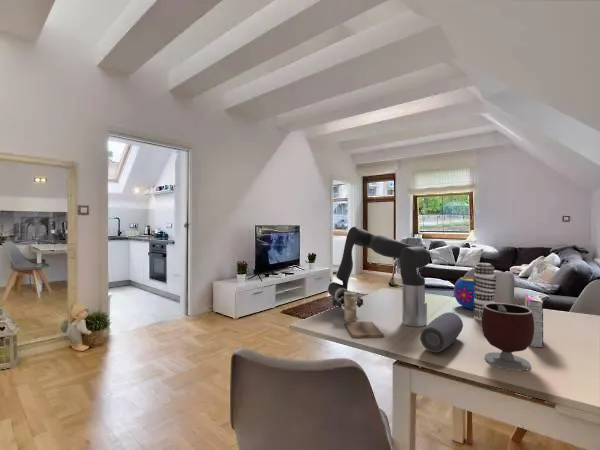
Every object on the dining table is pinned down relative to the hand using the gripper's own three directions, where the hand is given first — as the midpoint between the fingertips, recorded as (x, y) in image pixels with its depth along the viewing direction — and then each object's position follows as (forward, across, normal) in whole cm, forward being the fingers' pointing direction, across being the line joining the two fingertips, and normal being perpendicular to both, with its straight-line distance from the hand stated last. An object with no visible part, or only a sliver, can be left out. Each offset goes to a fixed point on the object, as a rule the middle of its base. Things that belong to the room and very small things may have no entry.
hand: (350, 305), depth 147 cm
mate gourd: (+48, +39, +7) cm, 62 cm away
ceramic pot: (-14, +66, +7) cm, 68 cm away
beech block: (0, 0, +6) cm, 7 cm away
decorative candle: (+3, +61, +7) cm, 61 cm away
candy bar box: (+32, +61, +7) cm, 69 cm away
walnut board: (+15, +2, +6) cm, 16 cm away
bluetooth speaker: (+32, +26, +7) cm, 42 cm away
